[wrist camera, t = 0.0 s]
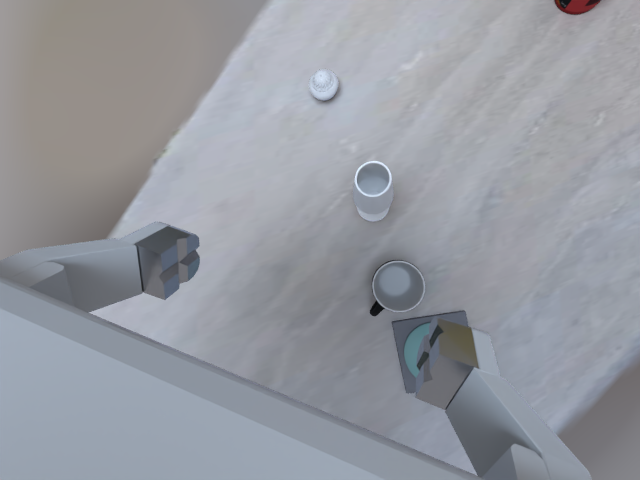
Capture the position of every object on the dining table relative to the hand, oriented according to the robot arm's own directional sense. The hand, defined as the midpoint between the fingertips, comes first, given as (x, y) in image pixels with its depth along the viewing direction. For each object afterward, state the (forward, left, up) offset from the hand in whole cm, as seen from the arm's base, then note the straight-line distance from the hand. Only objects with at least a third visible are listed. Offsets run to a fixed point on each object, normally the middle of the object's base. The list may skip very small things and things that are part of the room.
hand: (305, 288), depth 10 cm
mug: (-7, -4, -55) cm, 55 cm away
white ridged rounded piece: (+36, +1, -55) cm, 65 cm away
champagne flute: (+10, -4, -55) cm, 56 cm away
